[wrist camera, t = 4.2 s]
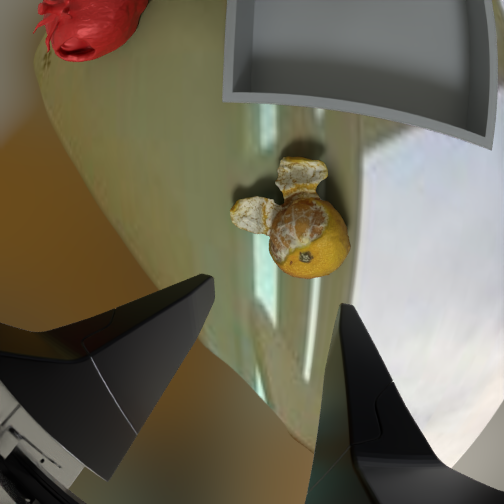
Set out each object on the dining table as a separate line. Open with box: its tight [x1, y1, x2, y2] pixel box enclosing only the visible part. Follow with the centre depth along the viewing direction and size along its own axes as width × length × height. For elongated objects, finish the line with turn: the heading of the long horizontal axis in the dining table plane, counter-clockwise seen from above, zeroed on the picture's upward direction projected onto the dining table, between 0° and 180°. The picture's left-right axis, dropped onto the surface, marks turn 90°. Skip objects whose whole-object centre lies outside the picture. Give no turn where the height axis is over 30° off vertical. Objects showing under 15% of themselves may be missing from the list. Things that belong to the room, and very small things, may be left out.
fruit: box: [230, 157, 351, 279], centre depth 19 cm, size 8×8×4 cm
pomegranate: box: [33, 0, 148, 62], centre depth 13 cm, size 10×10×9 cm
